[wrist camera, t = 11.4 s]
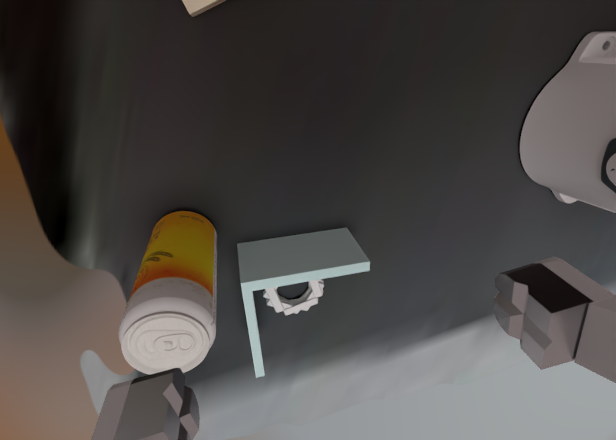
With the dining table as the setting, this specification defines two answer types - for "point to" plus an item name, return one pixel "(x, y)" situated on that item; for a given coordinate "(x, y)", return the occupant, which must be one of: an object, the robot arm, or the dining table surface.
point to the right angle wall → (294, 272)
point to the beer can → (173, 297)
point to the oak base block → (200, 6)
